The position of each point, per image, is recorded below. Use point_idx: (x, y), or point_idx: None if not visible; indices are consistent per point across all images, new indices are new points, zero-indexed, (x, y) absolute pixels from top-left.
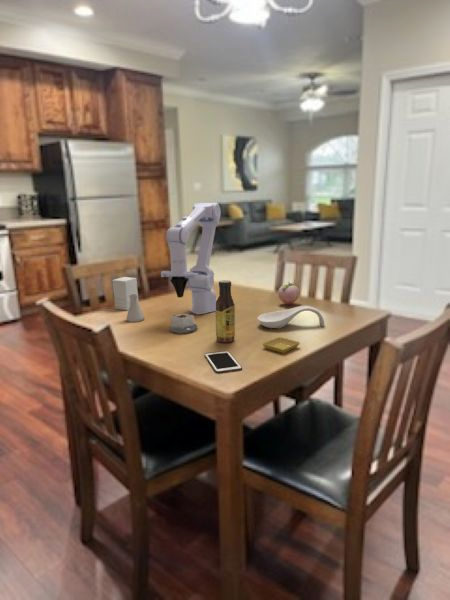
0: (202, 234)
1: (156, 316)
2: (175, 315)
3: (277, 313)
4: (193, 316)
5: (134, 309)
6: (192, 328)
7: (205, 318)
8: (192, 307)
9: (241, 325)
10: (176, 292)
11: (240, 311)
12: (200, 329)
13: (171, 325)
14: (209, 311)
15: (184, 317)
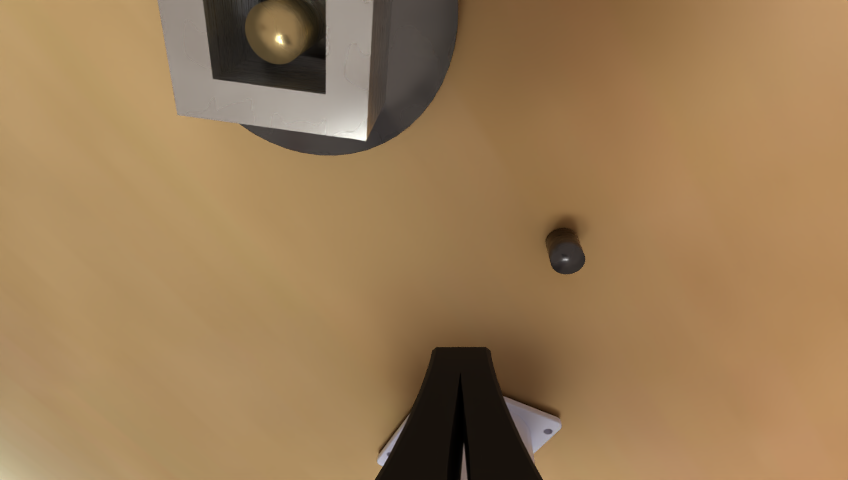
0: None
1: (772, 258)
2: (566, 267)
3: None
4: (184, 111)
5: None
6: None
7: (351, 328)
8: (525, 439)
9: (32, 279)
10: (496, 401)
11: (256, 472)
12: None
13: (455, 5)
14: (401, 428)
15: (257, 43)
